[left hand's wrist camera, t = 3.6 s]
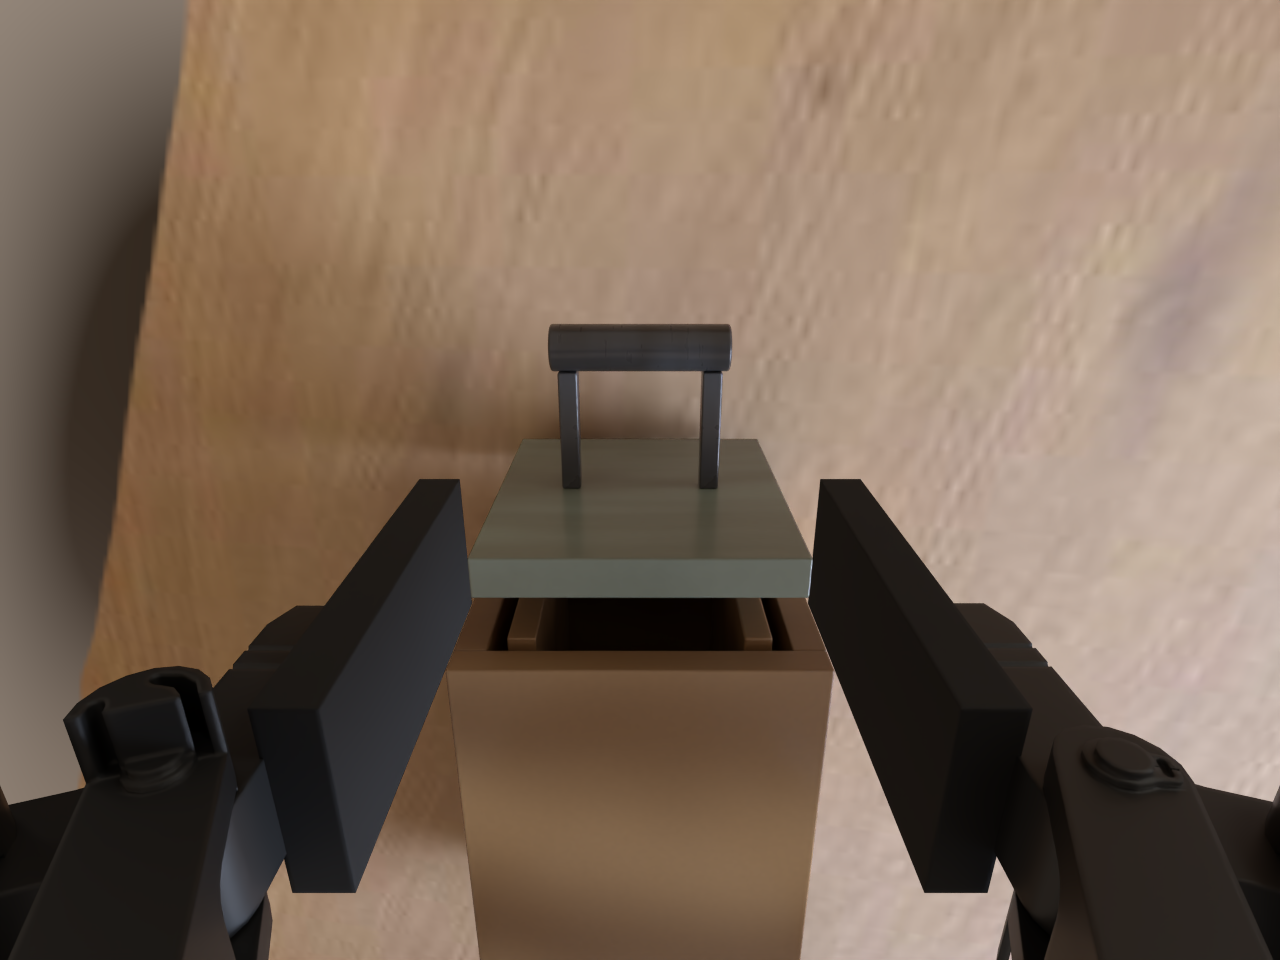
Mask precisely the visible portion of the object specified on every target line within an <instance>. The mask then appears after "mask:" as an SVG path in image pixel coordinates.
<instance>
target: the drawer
mask: <svg viewBox="0 0 1280 960" xmlns="http://www.w3.org/2000/svg"><path fill="white" fill-rule="evenodd" d="M548 356H549V365H550V368H551V370H552V371H559V372H558V397H559V420H560V439H523V440H522V442H521V445H520V447H519V449H518V451H517V453H516V455H515V458H514V460H513V462H512V464H511V466H510V468H509V471H508V473H507V475H506V477H505V479H504V481H503V483H502V486H501V488H500V490H499V492H498V494H497V496H496V499H495V501H494V503H493V505H492V507H491V509H490V511H489V514H488V516H487V518H486V520H485V522H484V524H483V527H482V529H481V531H480V533H479V535H478V537H477V540H476V542H475V544H474V546H473V548H472V550H471V552H470V555H469V557H468V569H469V579H470V589H471V597H472V598H519V601H518V604H517V607H516V611H515V614H514V618H513V621H512V624H511V628H510V631H509V635H508V638H507V642H508V651H772V641H773V639H772V635H771V632H770V628H769V625H768V622H767V618H766V615H765V611H764V608H763V605H762V601H761V598H808V597H809V590H810V580H811V569H812V556H811V554H810V552H809V550H808V548H807V546H806V544H805V541H804V539H803V537H802V535H801V533H800V531H799V528H798V526H797V524H796V522H795V520H794V518H793V515H792V513H791V511H790V509H789V507H788V505H787V503H786V500H785V498H784V496H783V494H782V492H781V490H780V487H779V485H778V483H777V481H776V479H775V477H774V475H773V472H772V470H771V468H770V466H769V464H768V462H767V459H766V457H765V455H764V453H763V451H762V449H761V447H760V444H759V442H758V440H757V439H720V425H721V401H722V378H723V374H722V372H721V371H728V370H729V369H730V366H731V358H732V331H731V327H730V325H729V324H551V325H550V327H549V333H548ZM579 371H702V374H701V405H700V437H699V439H581V434H580V402H579Z"/></svg>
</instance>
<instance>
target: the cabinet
mask: <svg viewBox="0 0 1280 960" xmlns="http://www.w3.org/2000/svg"><path fill="white" fill-rule="evenodd" d="M518 601H519V598H475V600H474V602H473V605H472V607H471V610H470V612H469V615H468V617H467V619H466V622H465V624H464V627H463V629H462V632H461V634H460V637H459V639H458V642H457V644H456V647H455V649H454V652H453V654H452V657H451V659H450V662H449V664H448V667H447V669H446V677H447V686H448V694H449V703H450V711H451V719H452V728H453V736H454V745H455V753H456V762H457V770H458V778H459V787H460V795H461V804H462V812H463V821H464V829H465V837H466V846H467V854H468V863H469V871H470V880H471V888H472V896H473V905H474V913H475V922H476V930H477V939H478V947H479V955H480V960H800V956H801V948H802V940H803V931H804V923H805V914H806V906H807V898H808V889H809V881H810V872H811V864H812V855H813V847H814V839H815V830H816V822H817V813H818V805H819V797H820V788H821V780H822V771H823V763H824V754H825V746H826V738H827V729H828V721H829V712H830V704H831V696H832V687H833V679H834V669H833V666H832V664H831V662H830V659H829V657H828V654H827V652H826V649H825V646H824V644H823V641H822V639H821V636H820V634H819V631H818V629H817V626H816V624H815V621H814V619H813V616H812V614H811V611H810V609H809V606H808V604H807V601H806V599H805V598H761V601H762V605H763V608H764V611H765V615H766V618H767V622H768V625H769V628H770V632H771V635H772V639H773V641H772V651H508V642H507V638H508V635H509V631H510V628H511V624H512V621H513V618H514V614H515V611H516V607H517V604H518Z"/></svg>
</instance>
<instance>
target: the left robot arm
mask: <svg viewBox="0 0 1280 960" xmlns="http://www.w3.org/2000/svg"><path fill="white" fill-rule="evenodd" d="M471 605H472V600H471V589H470V579H469V569H468V559H467V549H466V539H465V529H464V519H463V509H462V499H461V489H460V479H419V481H418V482H417V483H416V485H415V486H414V487H413V489H412V490H411V491H410V493H409V494H408V495H407V497H406V498H405V499H404V501H403V502H402V503H401V505H400V506H399V507H398V509H397V510H396V511H395V513H394V514H393V515H392V517H391V518H390V519H389V521H388V522H387V523H386V525H385V526H384V527H383V529H382V530H381V531H380V533H379V534H378V535H377V537H376V538H375V539H374V541H373V542H372V543H371V545H370V546H369V547H368V549H367V550H366V551H365V553H364V554H363V555H362V557H361V558H360V559H359V561H358V562H357V563H356V565H355V566H354V567H353V569H352V570H351V571H350V573H349V574H348V575H347V577H346V578H345V579H344V581H343V582H342V583H341V585H340V586H339V587H338V589H337V590H336V591H335V593H334V594H333V595H332V597H331V598H330V599H329V601H328V602H327V603H326V605H325V606H295V607H294V608H292V609H291V610H289V611H288V612H286V613H284V614H283V615H281V616H280V617H278V618H277V619H275V620H273V621H272V622H270V623H269V624H267V625H266V627H265V628H264V629H263V630H262V631H261V632H260V634H259V635H258V636H257V637H256V638H255V639H254V641H253V642H252V643H251V644H250V645H249V649H248V651H244V652H243V654H242V655H241V656H240V657H239V658H238V659H237V661H236V662H235V663H234V664H233V669H229V670H228V671H227V672H226V674H225V675H224V676H223V677H222V678H221V679H220V681H219V682H218V683H217V684H216V685H215V687H214V688H212V684H211V680H210V678H209V677H208V676H207V675H205V674H204V673H203V672H201V671H200V670H199V669H193V668H187V667H182V666H174V667H163V668H153V669H150V670H146V671H142V672H139V673H135V674H131V675H127V676H125V677H123V678H120V679H118V680H116V681H114V682H112V683H109V684H107V685H105V686H103V687H100V688H99V689H97V690H96V691H94V692H93V693H91V694H90V695H88V696H87V697H86V698H84V699H83V700H81V701H80V702H78V703H77V704H76V705H75V706H74V708H73V709H72V710H71V711H70V712H69V713H68V715H67V716H66V717H65V718H64V719H63V721H64V724H65V727H66V730H67V732H68V735H69V738H70V741H71V743H72V746H73V749H74V751H75V754H76V757H77V760H78V762H79V765H80V768H81V771H82V773H83V776H84V779H85V782H86V785H85V787H84V788H81V789H78V790H74V791H70V792H65V793H61V794H56V795H52V796H47V797H43V798H38V799H33V800H29V801H24V802H20V803H16V804H11V805H8V803H7V801H6V798H5V796H4V794H3V791H2V789H1V787H0V960H268V957H269V948H270V939H271V930H272V915H271V908H270V903H269V899H268V895H267V890H268V888H269V886H270V884H271V882H272V881H273V879H274V877H275V875H276V873H277V871H278V869H279V867H280V865H281V864H282V862H283V860H285V864H286V868H287V872H288V876H289V881H290V885H291V889H292V893H356V890H357V888H358V885H359V883H360V881H361V878H362V876H363V873H364V871H365V868H366V866H367V863H368V861H369V858H370V856H371V853H372V851H373V848H374V846H375V843H376V841H377V838H378V836H379V833H380V831H381V828H382V826H383V823H384V821H385V818H386V816H387V813H388V811H389V808H390V806H391V803H392V801H393V798H394V796H395V794H396V791H397V789H398V786H399V784H400V781H401V779H402V776H403V774H404V771H405V769H406V766H407V764H408V761H409V759H410V756H411V754H412V751H413V749H414V746H415V744H416V741H417V739H418V736H419V734H420V731H421V729H422V726H423V724H424V721H425V719H426V716H427V714H428V711H429V709H430V707H431V704H432V702H433V699H434V697H435V694H436V692H437V689H438V687H439V684H440V682H441V679H442V677H443V674H444V672H445V669H446V667H447V664H448V662H449V659H450V657H451V654H452V652H453V649H454V647H455V644H456V642H457V639H458V637H459V634H460V632H461V629H462V627H463V624H464V622H465V620H466V617H467V615H468V612H469V610H470V607H471ZM808 605H809V607H810V610H811V612H812V615H813V617H814V619H815V622H816V624H817V627H818V629H819V632H820V634H821V637H822V639H823V642H824V644H825V647H826V649H827V652H828V654H829V657H830V659H831V662H832V664H833V667H834V669H835V672H836V674H837V677H838V679H839V682H840V684H841V687H842V689H843V692H844V694H845V697H846V699H847V702H848V704H849V706H850V709H851V711H852V714H853V716H854V719H855V721H856V724H857V726H858V729H859V731H860V734H861V736H862V739H863V741H864V744H865V746H866V749H867V751H868V754H869V756H870V759H871V761H872V764H873V766H874V769H875V771H876V774H877V776H878V779H879V781H880V784H881V786H882V789H883V791H884V793H885V796H886V798H887V801H888V803H889V806H890V808H891V811H892V813H893V816H894V818H895V821H896V823H897V826H898V828H899V831H900V833H901V836H902V838H903V841H904V843H905V846H906V848H907V851H908V853H909V856H910V858H911V861H912V863H913V866H914V868H915V871H916V873H917V876H918V878H919V880H920V883H921V885H922V888H923V890H924V893H988V889H989V885H990V881H991V877H992V872H993V868H994V864H995V860H996V856H997V858H998V860H999V862H1000V863H1001V865H1002V867H1003V869H1004V871H1005V873H1006V875H1007V877H1008V879H1009V880H1010V882H1011V884H1012V886H1013V888H1014V891H1013V895H1012V899H1011V903H1010V907H1009V910H1008V914H1007V918H1006V922H1005V925H1004V929H1003V933H1002V937H1001V941H1000V944H999V948H998V954H997V960H1009V956H1010V953H1011V955H1012V960H1280V787H1279V789H1278V791H1277V794H1276V796H1275V798H1274V801H1273V802H1271V801H1266V800H1261V799H1257V798H1252V797H1248V796H1243V795H1239V794H1234V793H1230V792H1225V791H1221V790H1216V789H1212V788H1207V787H1203V786H1200V785H1196V784H1194V782H1193V780H1192V779H1191V778H1190V776H1189V775H1188V774H1187V772H1186V771H1185V769H1184V768H1183V767H1182V765H1181V764H1179V763H1178V762H1177V761H1176V760H1174V759H1173V758H1172V757H1171V756H1169V755H1168V754H1167V753H1166V752H1164V751H1163V750H1162V749H1160V748H1159V747H1157V746H1155V745H1153V744H1151V743H1149V742H1147V741H1145V740H1143V739H1141V738H1139V737H1137V736H1135V735H1132V734H1129V733H1126V732H1123V731H1119V730H1116V729H1113V728H1110V727H1103V726H1102V725H1101V724H1100V723H1099V722H1098V720H1097V719H1096V718H1095V717H1094V716H1093V715H1092V713H1091V712H1090V711H1089V710H1088V709H1087V708H1086V706H1085V705H1084V704H1083V703H1082V702H1081V701H1080V699H1079V698H1078V697H1077V696H1076V695H1075V694H1074V692H1073V691H1072V690H1071V689H1070V688H1069V687H1068V685H1067V684H1066V683H1065V682H1064V681H1063V680H1062V678H1061V677H1060V676H1059V675H1058V674H1057V673H1056V671H1055V670H1054V669H1053V668H1052V667H1048V664H1047V663H1048V662H1047V661H1046V660H1045V659H1044V657H1043V656H1042V655H1041V654H1040V653H1039V651H1038V650H1037V649H1036V648H1032V643H1031V642H1030V641H1029V640H1028V639H1027V637H1026V636H1025V635H1024V634H1023V633H1022V632H1021V630H1020V629H1019V628H1018V627H1017V626H1016V625H1015V623H1014V622H1012V621H1011V620H1009V619H1008V618H1006V617H1005V616H1003V615H1001V614H1000V613H998V612H997V611H995V610H993V609H992V608H990V607H989V606H987V605H986V604H984V603H953V602H952V600H951V599H950V598H949V597H948V595H947V594H946V593H945V591H944V590H943V589H942V587H941V586H940V585H939V583H938V582H937V581H936V579H935V578H934V577H933V575H932V574H931V573H930V571H929V570H928V569H927V567H926V566H925V565H924V563H923V562H922V561H921V559H920V558H919V557H918V555H917V554H916V553H915V551H914V550H913V549H912V547H911V546H910V545H909V543H908V542H907V541H906V539H905V538H904V537H903V535H902V534H901V533H900V531H899V530H898V529H897V527H896V526H895V525H894V523H893V522H892V521H891V519H890V518H889V517H888V515H887V514H886V513H885V511H884V510H883V509H882V507H881V506H880V505H879V503H878V502H877V501H876V499H875V498H874V497H873V495H872V494H871V493H870V491H869V490H868V489H867V487H866V486H865V485H864V483H863V482H862V481H861V479H820V489H819V499H818V509H817V519H816V529H815V539H814V549H813V559H812V569H811V580H810V590H809V600H808Z"/></svg>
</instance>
